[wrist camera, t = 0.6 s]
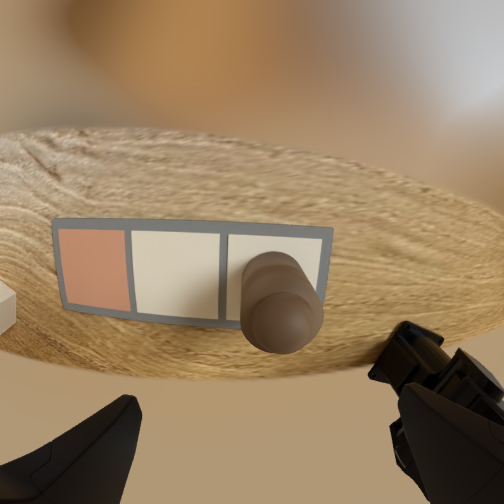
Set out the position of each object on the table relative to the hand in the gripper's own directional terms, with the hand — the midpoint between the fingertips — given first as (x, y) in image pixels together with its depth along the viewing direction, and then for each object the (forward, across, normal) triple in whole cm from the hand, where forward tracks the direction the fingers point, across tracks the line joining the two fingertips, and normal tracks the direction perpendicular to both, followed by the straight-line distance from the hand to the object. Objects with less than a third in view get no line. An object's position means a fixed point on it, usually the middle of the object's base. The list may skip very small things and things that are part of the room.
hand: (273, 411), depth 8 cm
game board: (+13, +6, -1) cm, 14 cm away
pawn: (+12, -1, 0) cm, 12 cm away
